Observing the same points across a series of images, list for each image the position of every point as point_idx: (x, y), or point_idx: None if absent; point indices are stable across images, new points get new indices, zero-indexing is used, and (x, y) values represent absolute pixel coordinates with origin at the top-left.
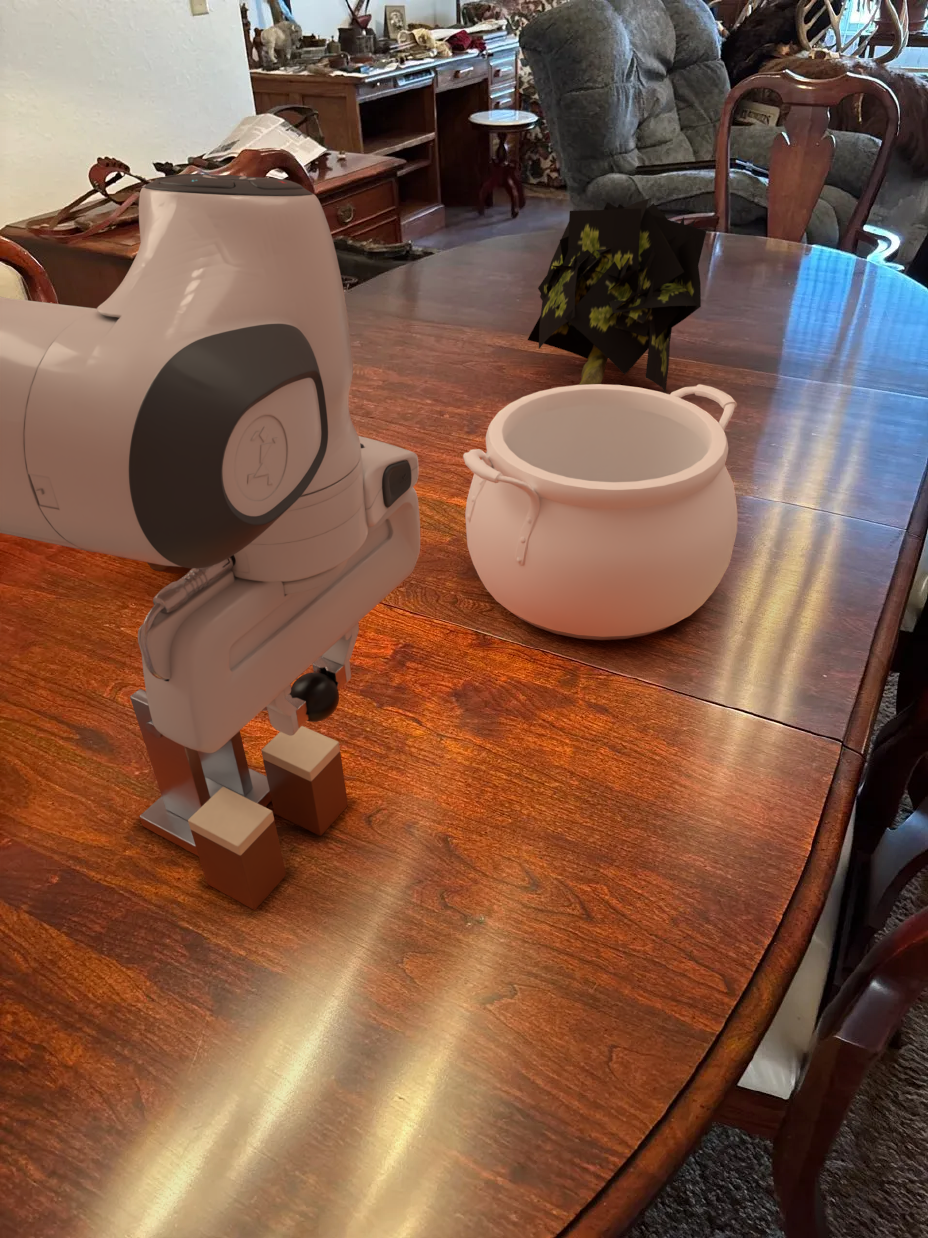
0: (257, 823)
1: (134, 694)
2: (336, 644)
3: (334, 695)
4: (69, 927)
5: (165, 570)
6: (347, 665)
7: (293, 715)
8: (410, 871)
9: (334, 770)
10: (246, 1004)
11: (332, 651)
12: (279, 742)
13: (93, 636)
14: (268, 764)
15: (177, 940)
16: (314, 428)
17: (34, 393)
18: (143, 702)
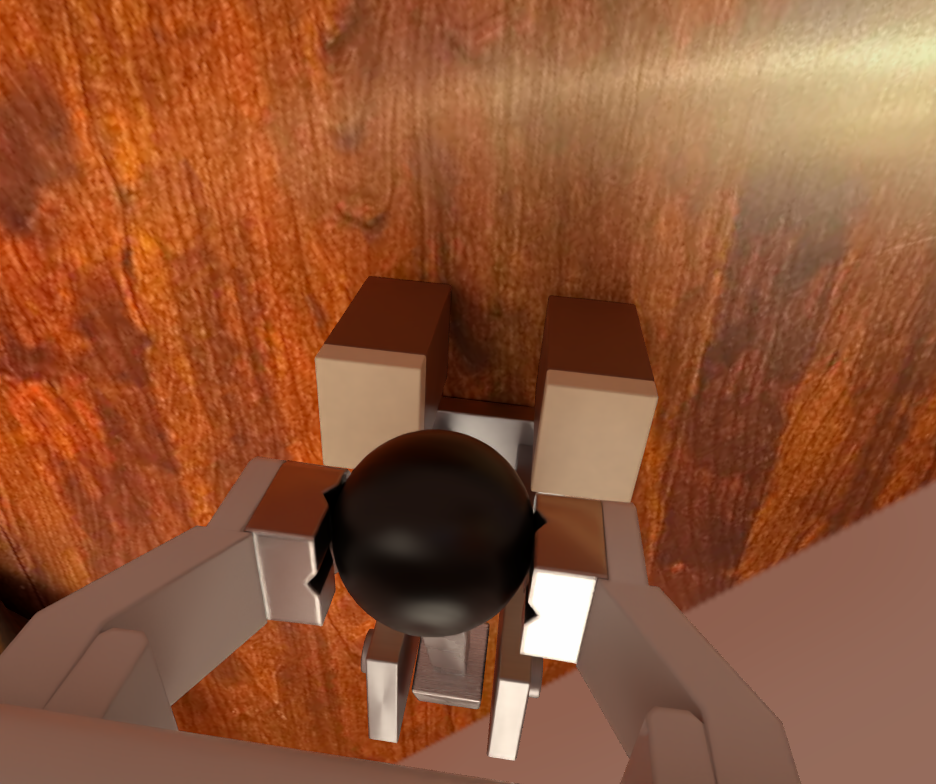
0: (590, 393)
1: (506, 757)
2: (187, 627)
3: (407, 478)
4: (745, 514)
5: None
6: (233, 513)
7: (631, 573)
8: (441, 78)
9: (360, 330)
10: (813, 216)
11: (225, 611)
12: None
13: (309, 719)
14: None
15: (724, 380)
16: None
17: None
18: (519, 740)
